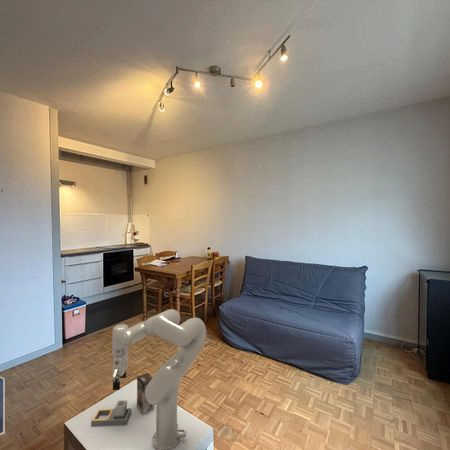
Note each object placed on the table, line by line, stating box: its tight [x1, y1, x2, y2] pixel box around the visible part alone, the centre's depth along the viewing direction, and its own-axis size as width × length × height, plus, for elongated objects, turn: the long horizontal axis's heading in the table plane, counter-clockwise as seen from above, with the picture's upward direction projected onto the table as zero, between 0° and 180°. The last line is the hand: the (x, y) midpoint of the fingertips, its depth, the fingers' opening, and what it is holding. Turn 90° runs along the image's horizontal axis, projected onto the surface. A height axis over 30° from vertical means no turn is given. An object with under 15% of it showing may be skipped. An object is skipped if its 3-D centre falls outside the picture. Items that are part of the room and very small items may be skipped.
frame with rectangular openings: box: [90, 407, 132, 427], centre depth 125 cm, size 17×8×3 cm, turn 94°
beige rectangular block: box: [114, 399, 128, 419], centre depth 126 cm, size 4×4×8 cm
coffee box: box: [136, 372, 155, 416], centre depth 134 cm, size 9×6×16 cm
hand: (119, 383), depth 125 cm, fingers open, 9 cm apart
